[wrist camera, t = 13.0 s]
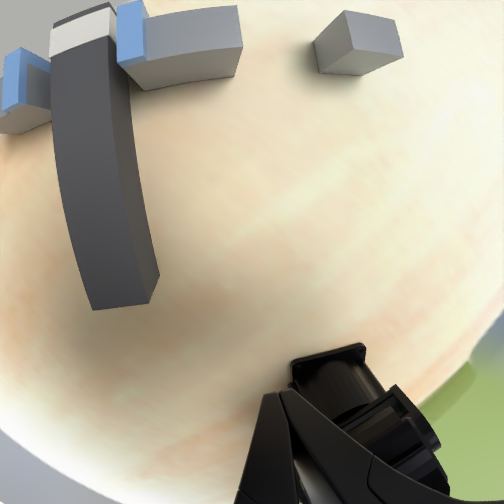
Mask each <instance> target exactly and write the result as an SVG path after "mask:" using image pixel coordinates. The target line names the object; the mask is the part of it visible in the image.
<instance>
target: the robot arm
mask: <svg viewBox="0 0 504 504" xmlns="http://www.w3.org/2000/svg"><path fill="white" fill-rule="evenodd" d="M359 349H360V350H359ZM365 356H366V347H365V345H364V344H363V343H359V344H356V345H352V346H348V347H345V348H341V349H338V350H334V351H330V352H326V353H322V354H318V355H314V356H310V357H306V358H301V359H297V360H294V361H293V362H292V363H291V379H292V382H291V383H289V384H288V389H285V390H281V391H279V392H271V393H266V394H264V395H263V397H262V402H261V406H260V410H259V414H258V418H257V422H256V426H255V429H254V433H253V437H252V441H251V445H250V448H249V452H248V456H247V460H246V463H245V467H244V470H243V474H242V478H241V481H240V485H239V488H238V489H239V490H238V491H237V494H236V498H235V501H234V504H299V502H300V503H302V504H504V500H501V501H500V500H499V501H464V500H459V499H455V498H452V497H450V486H449V484H448V483H447V482H448V478H447V475H446V473H445V472H444V470H443V468H442V466H441V465H440V463H439V461H438V460H437V458H436V456H435V455H434V453H433V452H435V451H436V450H438V449H439V448H441V443H440V441H439V439H438V437H437V435H436V434H435V432H434V430H433V429H432V427H431V425H430V424H429V423H428V421H427V420H426V418H425V417H424V416H423V414H422V413H421V412H420V411H419V410H418V408H417V407H416V406H415V405H414V404H413V403H412V402H411V401H410V399H409V398H408V397H407V396H406V395H405V394H404V393H403V392H402V390H401V389H400V388H399V387H398V386H397V385H396V384H395V385H393V386H392V387H391V388H390V390H388V391H387V392H386V391H385V390H384V388H383V387H382V385H381V384H380V383H379V381H378V380H377V378H376V377H375V376H374V374H373V373H372V372H371V370H370V369H369V367H368V366H367V365H366V363H365ZM297 365H299V366H297ZM295 366H297V367H295Z"/></svg>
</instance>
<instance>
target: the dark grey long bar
mask: <svg viewBox="0 0 504 504" xmlns="http://www.w3.org/2000/svg"><path fill="white" fill-rule="evenodd" d="M116 22H117V13H116V12H115V10H114V9H113V7H112V6H111V4H110V3H109V2H107V3H104V4H101V5H98V6H95V7H92V8H89V9H87V10H84V11H82V12H79V13H77V14H74V15H72V16H69V17H67V18H65V19H62V20H60V21H58V22H56V23H54V26H53V29H52V30H51V34H50V45H49V58H50V59H51V74H50V92H51V118H52V132H53V142H54V152H55V160H56V167H57V174H58V180H59V186H60V192H61V198H62V203H63V208H64V213H65V217H66V222H67V226H68V230H69V234H70V238H71V242H72V246H73V250H74V254H75V257H76V261H77V264H78V268H79V271H80V274H81V277H82V281H83V284H84V287H85V290H86V293H87V296H88V299H89V301H90V304H91V307H92V310H93V311H94V310H102V309H110V308H118V307H126V306H133V305H140V304H148V303H149V301H150V299H151V296H152V294H153V291H154V289H155V286H156V284H157V281H158V279H159V276H160V274H159V270H158V266H157V262H156V258H155V254H154V249H153V245H152V240H151V235H150V231H149V226H148V221H147V216H146V211H145V206H144V200H143V195H142V189H141V183H140V177H139V171H138V164H137V157H136V150H135V143H134V135H133V127H132V118H131V108H130V97H129V84H128V73H127V72H126V71H125V70H124V69H123V68H122V67H121V66H120V65H119V64H118V63H117V41H116Z"/></svg>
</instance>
